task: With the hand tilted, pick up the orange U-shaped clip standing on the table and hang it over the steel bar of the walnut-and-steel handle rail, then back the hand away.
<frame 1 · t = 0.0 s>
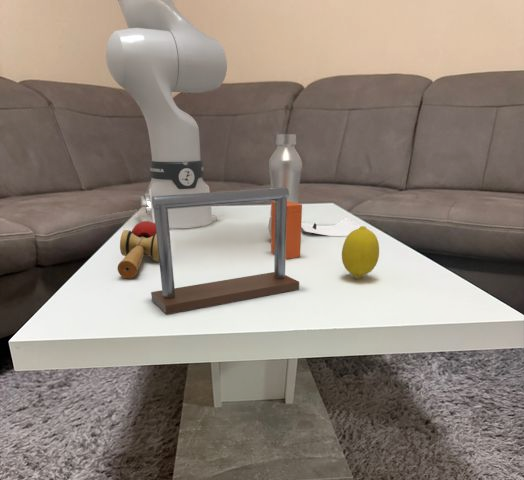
clip: (285, 254, 84), on the table
rail: (227, 294, 64), on the table
lemon: (357, 279, 71), on the table
silver metal bottle: (284, 241, 95), on the table
kendama: (142, 265, 78), on the table
folded paper: (326, 231, 104), on the table
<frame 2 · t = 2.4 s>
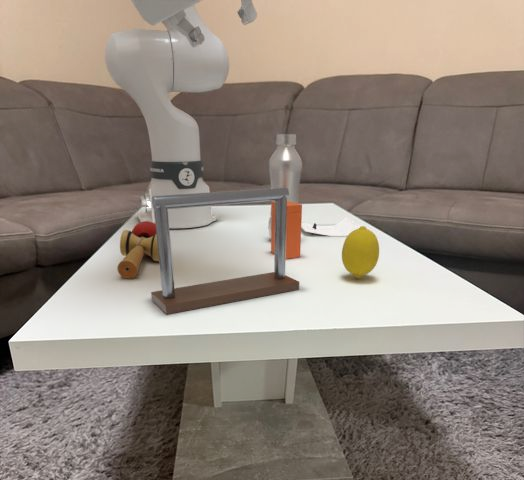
hand: (223, 33, 62), 33 cm above the table, tool tilted 35°, fingers open, 8 cm apart
nothing on the table moved.
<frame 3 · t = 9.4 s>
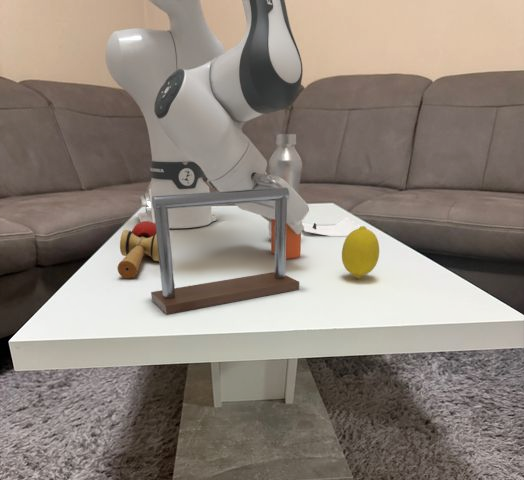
hand: (288, 227, 82), 5 cm above the table, tool tilted 45°, fingers closed on clip, 5 cm apart
clip: (285, 254, 84), on the table, touching gripper
everything else where it was.
when the fingers open (11 cm above the table, at t = 18.9 s): clip stays where it is, resting on rail.
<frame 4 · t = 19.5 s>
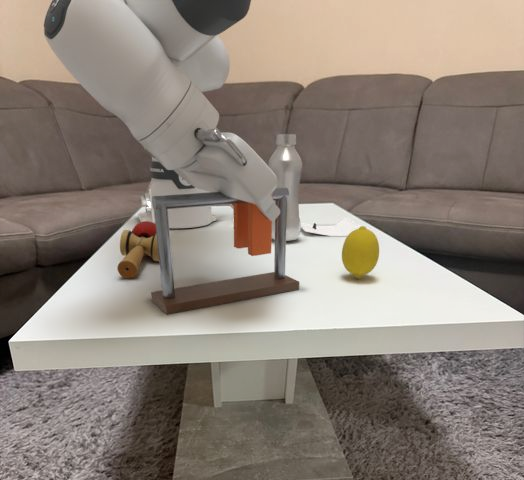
hand: (256, 210, 61), 11 cm above the table, tool tilted 45°, fingers open, 8 cm apart
clip: (252, 250, 63), point 6 cm above the table, touching rail
everything else where it was.
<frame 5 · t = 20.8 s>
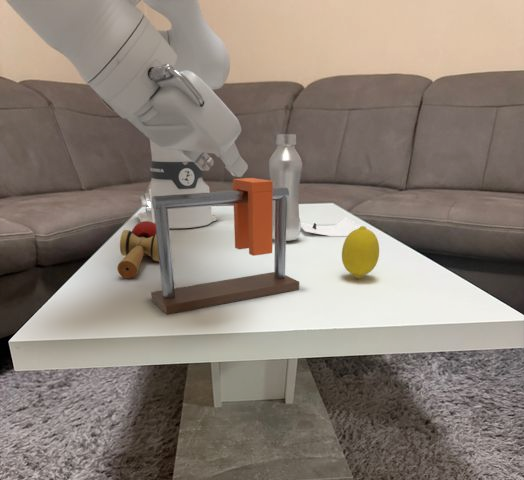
hand: (224, 169, 57), 16 cm above the table, tool tilted 45°, fingers open, 8 cm apart
nothing on the table moved.
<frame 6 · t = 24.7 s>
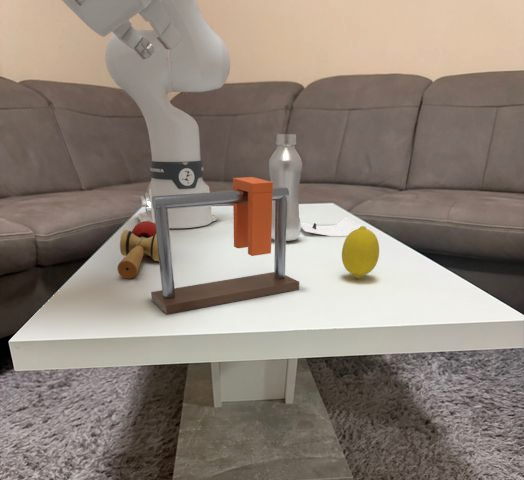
hand: (161, 50, 54), 29 cm above the table, tool tilted 45°, fingers open, 8 cm apart
nothing on the table moved.
at the end: clip 0.3 cm from the target spot on the rail, point 5.8 cm above the rail's base; clip touching rail; the gripper is holding nothing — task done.
